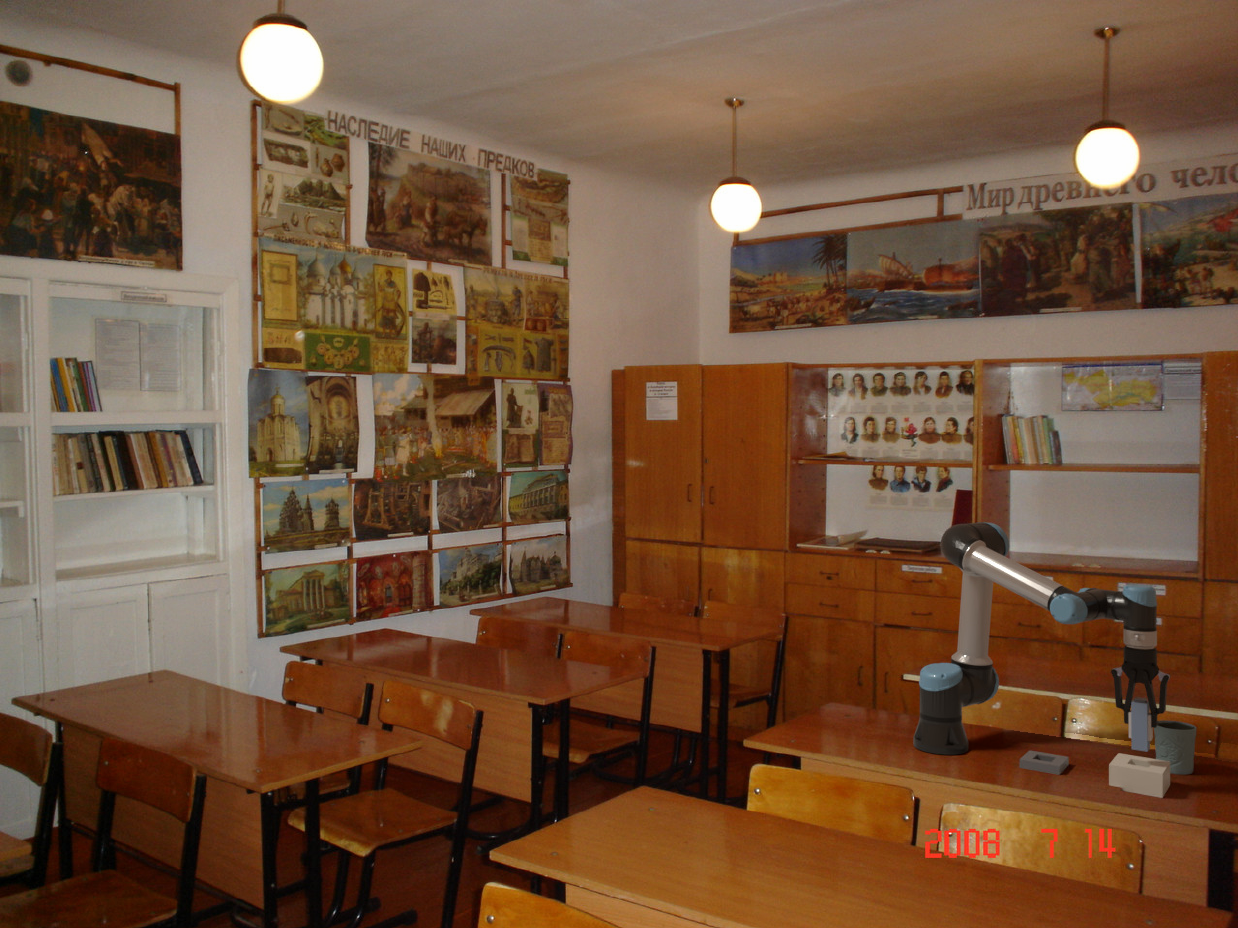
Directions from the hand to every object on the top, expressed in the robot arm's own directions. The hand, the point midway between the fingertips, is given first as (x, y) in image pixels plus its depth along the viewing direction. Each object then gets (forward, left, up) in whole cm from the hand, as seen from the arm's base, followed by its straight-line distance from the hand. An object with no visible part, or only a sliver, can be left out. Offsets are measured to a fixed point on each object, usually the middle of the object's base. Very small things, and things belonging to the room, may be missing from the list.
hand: (1140, 737), depth 250 cm
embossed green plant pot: (+5, +21, -13) cm, 25 cm away
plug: (0, 0, -3) cm, 3 cm away
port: (0, 0, -12) cm, 12 cm away
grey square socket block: (-23, 0, -12) cm, 26 cm away
